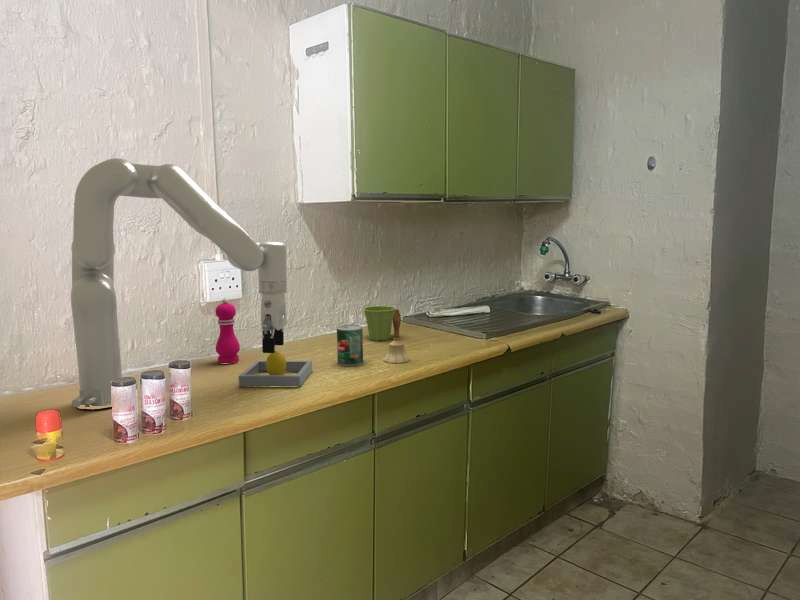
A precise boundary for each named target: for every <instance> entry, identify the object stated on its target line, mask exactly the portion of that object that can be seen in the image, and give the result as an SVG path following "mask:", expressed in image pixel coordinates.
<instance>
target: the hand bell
mask: <svg viewBox="0 0 800 600" xmlns="http://www.w3.org/2000/svg"><path fill="white" fill-rule="evenodd" d="M401 324H402V316H401V313H400V310H399V309H398V308H396V309H395V310H394V314H393V319H392V327H393V341H391V342H390V343H389V345H388V350H387V354H386V355H385V356H384V358H383V362H384V363H387V364H403V363H408V362H410V361H411V358H410V357H409V356H408V355H407V353H406V350H405V349H406V348H405V345H404V342H402V341H400V327H401Z"/></svg>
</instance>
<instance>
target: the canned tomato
mask: <svg viewBox="0 0 800 600" xmlns="http://www.w3.org/2000/svg"><path fill="white" fill-rule="evenodd" d="M363 334H364V333H363V326H362V325H359V324H344V325H338V326H337V327H336V343H337V344H336V347H337V348H336V349H337V350H336V351H337V364H338V365H340V366H344V367H346V366H347V367H348V366H349V367H350V366H351V367H352V366H359V365H362V364H363V363H364V340H363Z"/></svg>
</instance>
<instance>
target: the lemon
mask: <svg viewBox="0 0 800 600" xmlns="http://www.w3.org/2000/svg"><path fill="white" fill-rule="evenodd" d="M265 361H266V369H267V372H266V373H268V374H267V375H285V373H286V372H285V370H286V361H287V360H286V357H285V356H284V355H283V353H281V352H279V351H277V350H275V352H274V353H269V355H268V356H267V357H266V360H265Z"/></svg>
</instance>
